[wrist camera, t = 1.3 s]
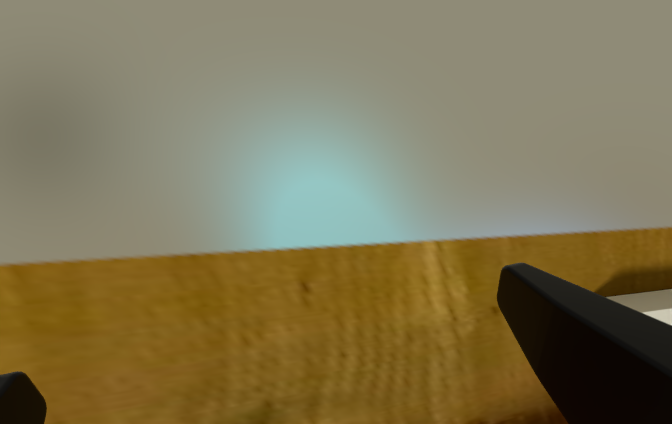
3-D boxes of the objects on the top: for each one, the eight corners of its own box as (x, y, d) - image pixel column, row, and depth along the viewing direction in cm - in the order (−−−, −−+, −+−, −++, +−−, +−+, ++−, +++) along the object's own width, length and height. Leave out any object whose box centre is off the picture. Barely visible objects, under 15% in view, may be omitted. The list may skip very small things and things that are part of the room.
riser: (671, 398, 34) (711, 421, 31) (574, 419, 32) (608, 446, 29) (685, 287, 33) (729, 300, 30) (584, 299, 30) (621, 315, 27)
